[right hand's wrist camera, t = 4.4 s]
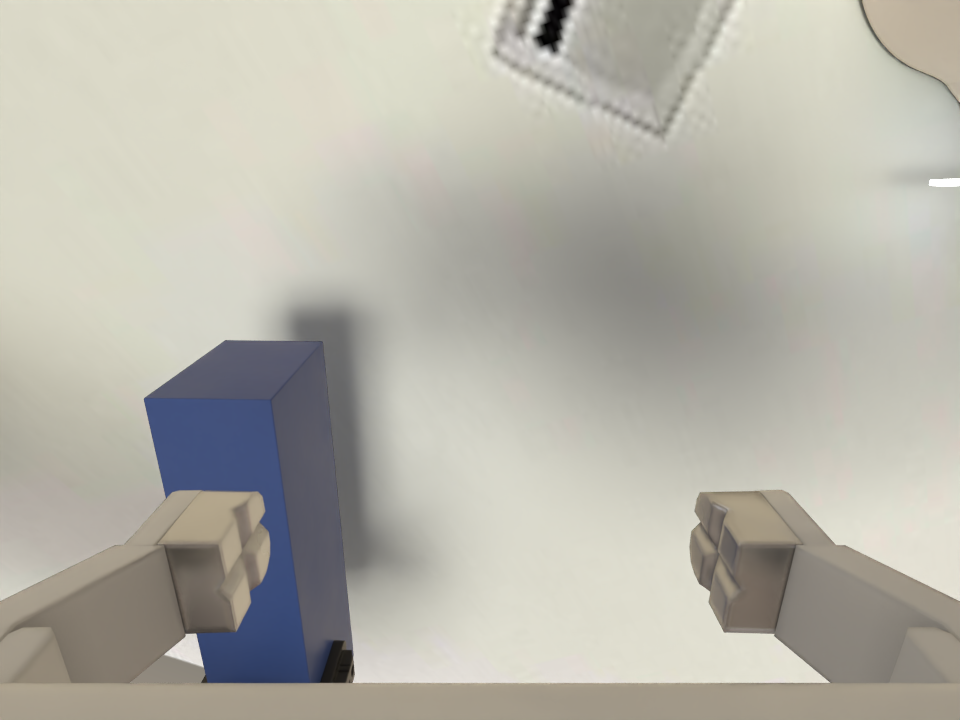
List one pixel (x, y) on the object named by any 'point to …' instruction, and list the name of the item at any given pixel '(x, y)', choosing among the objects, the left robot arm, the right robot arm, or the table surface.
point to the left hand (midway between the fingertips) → (292, 650)
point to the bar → (264, 497)
